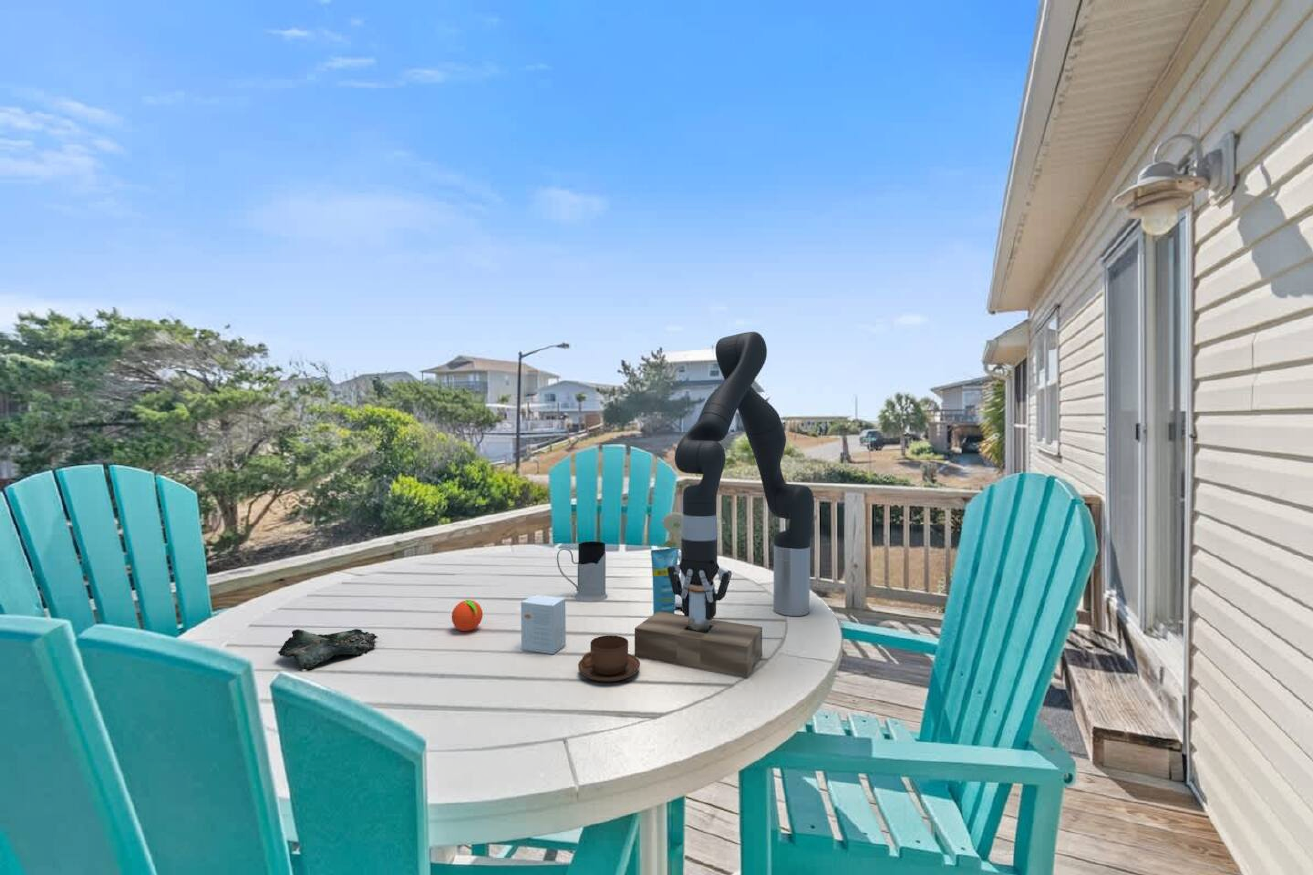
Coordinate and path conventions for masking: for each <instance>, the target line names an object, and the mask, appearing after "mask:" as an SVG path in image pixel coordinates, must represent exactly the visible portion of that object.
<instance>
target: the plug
mask: <svg viewBox="0 0 1313 875" xmlns="http://www.w3.org/2000/svg"><path fill="white" fill-rule="evenodd" d="M710 585H711V583H709V586H710ZM688 590H689V596H688V631H694V632H701V633H707V632H708V631H709V620H707V602H708V599H707V595H706V592H705V591H704V586H703V585H699V584H691V583H690V584H689V588H688Z"/></svg>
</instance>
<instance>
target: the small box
mask: <svg viewBox="0 0 1313 875" xmlns="http://www.w3.org/2000/svg"><path fill="white" fill-rule="evenodd" d="M520 613H521V615H520V616H521V617H520V619H521V620H520V623H521V624H520V626H521V628H520V631H521V634H520V635H521V650H522V651H528V652H536V653H542V654H547V655H548V654H549V655H554V654H556V653H557V652H558V651H560V650H561V649H562V648H564V647H565V646H566V645H567V639H566V638H567V637H566V636H567V635H566V633H567V629H566V628H567V627H566V622H567V621H566V620H567V619H566V597H556V596H548V595H546V596H545V595H539V594H538V595H537V594H535V595H532V596H530V597H528V598H526V599H524V600H523V601H521V602H520Z"/></svg>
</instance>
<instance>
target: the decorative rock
mask: <svg viewBox="0 0 1313 875" xmlns="http://www.w3.org/2000/svg"><path fill="white" fill-rule="evenodd" d="M291 634H292V637H288V639H287V640H285V641H284V643H283V645H281V647H280V650H279V651H278V652H277V654H279V656H280V657H283V658H292V657H293V660H295V661H296V662H297V664H298V667H299V669H300V670H301V671H304V670H305V672H310V671H311V670H313V669H315V667H316V666H317V665H318V663H320V662H323V663H324V662H327V661H328V660H329V659H331V658H332V657H334V656H339V655H347V656H348V655H356V656H357V655H359V656H363V655H364V654H365V655H366V654H367V653H368V651H369V650H371V649H372V648H375V647H376V646H377V645H376V644H375V643H374V642H373V641H375V639H378V636H377V635H376V633H372V632H371V633H369V632H368V631H363V630H362V629H358V628H355V629H352V630H346V631H345V630H344V631H340V632H339V631H338V632H334V633H328V634H319V633H318V634H316V633H314V632H310V631H306V630H303V629H294V630H292V631H291Z"/></svg>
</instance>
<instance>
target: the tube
mask: <svg viewBox="0 0 1313 875" xmlns="http://www.w3.org/2000/svg"><path fill="white" fill-rule="evenodd" d="M679 547H680V546H679ZM679 547H678V546H675V547H673V548H670V547H667V548H661V549H650V556H651V572H652V573H651V574H652V575H651V576H652V604H653V605H652V606H653V607H652V608H653V614H652V615H654V614H655V613H656V612H658V611H660V612H666V613H673V614H676V612H675V610H676V607H675V594H674V593H673V590H672V586H671V582H670V578H669V574H668V570H667V569H668V567H670V566H671V565H674V564H675V565H678V561H679V559H678V553H679V550H680V549H679Z"/></svg>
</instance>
